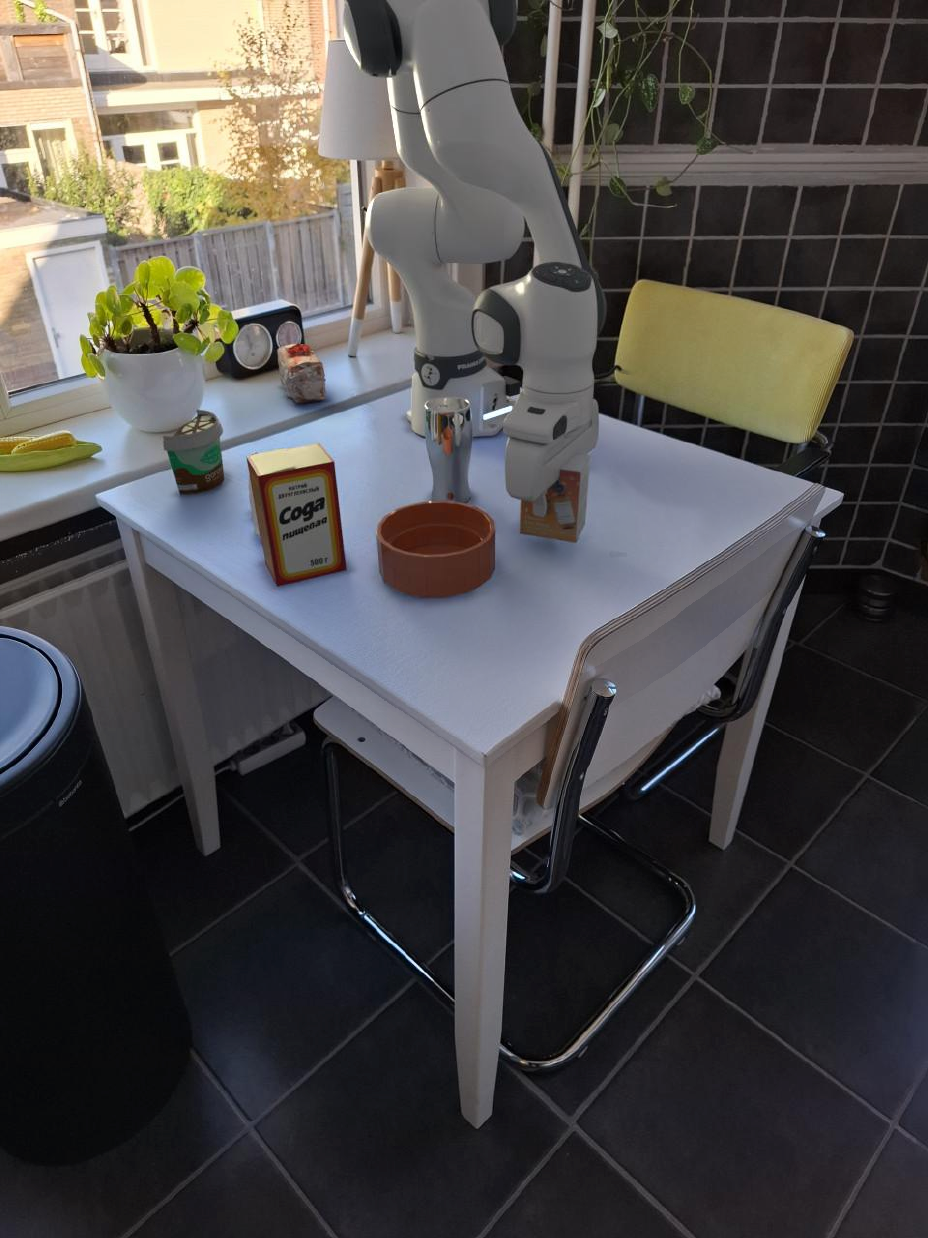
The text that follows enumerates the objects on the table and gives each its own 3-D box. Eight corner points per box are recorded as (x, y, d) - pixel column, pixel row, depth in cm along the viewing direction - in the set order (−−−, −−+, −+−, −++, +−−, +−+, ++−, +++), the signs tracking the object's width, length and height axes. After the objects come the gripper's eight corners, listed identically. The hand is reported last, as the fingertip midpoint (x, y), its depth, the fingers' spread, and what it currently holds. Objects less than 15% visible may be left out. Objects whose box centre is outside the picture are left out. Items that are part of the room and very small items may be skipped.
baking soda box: (332, 548, 121) (319, 440, 112) (346, 570, 116) (333, 458, 107) (265, 564, 118) (245, 453, 109) (277, 586, 113) (257, 473, 104)
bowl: (403, 537, 123) (400, 495, 120) (507, 550, 119) (507, 507, 116) (362, 592, 111) (358, 548, 108) (476, 609, 107) (475, 563, 104)
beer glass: (479, 491, 135) (478, 397, 126) (465, 511, 129) (462, 414, 121) (437, 486, 137) (433, 393, 128) (421, 505, 131) (416, 409, 123)
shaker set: (287, 545, 122) (275, 472, 116) (257, 549, 121) (243, 476, 115) (280, 508, 132) (270, 439, 126) (252, 511, 131) (240, 442, 125)
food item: (332, 401, 169) (326, 351, 164) (292, 408, 167) (285, 357, 161) (313, 381, 180) (307, 333, 174) (275, 387, 177) (268, 338, 172)
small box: (519, 535, 118) (520, 463, 112) (530, 516, 122) (531, 446, 116) (576, 544, 116) (581, 471, 110) (586, 524, 120) (590, 453, 114)
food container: (211, 501, 134) (199, 439, 129) (175, 498, 135) (161, 437, 130) (244, 468, 144) (233, 410, 139) (209, 465, 145) (198, 408, 140)
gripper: (570, 374, 117) (566, 468, 125) (495, 426, 103) (496, 529, 111) (613, 381, 115) (606, 477, 123) (543, 436, 100) (540, 541, 108)
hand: (553, 502), depth 117 cm, fingers closed on small box, 6 cm apart
